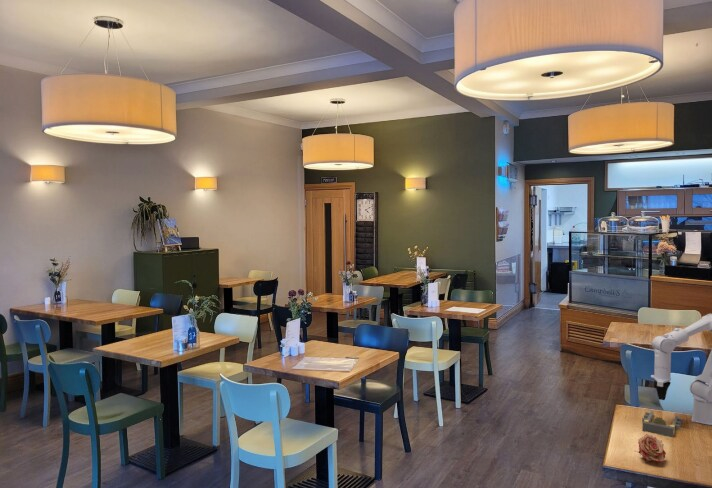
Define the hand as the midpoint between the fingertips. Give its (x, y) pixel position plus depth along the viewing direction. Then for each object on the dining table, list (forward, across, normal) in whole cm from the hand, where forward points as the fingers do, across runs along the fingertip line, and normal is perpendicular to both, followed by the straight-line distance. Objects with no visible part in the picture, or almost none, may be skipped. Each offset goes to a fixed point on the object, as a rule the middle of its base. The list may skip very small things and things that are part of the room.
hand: (661, 399), depth 219 cm
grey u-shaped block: (+10, +3, 0) cm, 10 cm away
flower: (+10, +40, +1) cm, 41 cm away
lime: (+10, +8, 0) cm, 13 cm away
